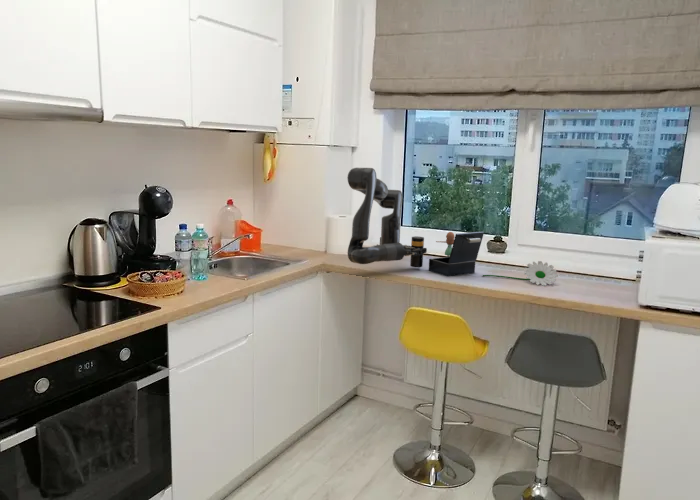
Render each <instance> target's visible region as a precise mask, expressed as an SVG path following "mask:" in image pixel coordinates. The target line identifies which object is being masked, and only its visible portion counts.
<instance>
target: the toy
mask: <svg viewBox="0 0 700 500" xmlns="http://www.w3.org/2000/svg"><path fill="white" fill-rule="evenodd" d="M445 238H446V240H444V241H442V240H435V243H444V244H447V248H446V249H445V251H444V255H445V256H446V257H450V254H451V250H452V247H453V243H454V239H455V233H453V232H452V231H448V232H447V233H446V235H445Z"/></svg>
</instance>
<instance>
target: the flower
mask: <svg viewBox="0 0 700 500" xmlns="http://www.w3.org/2000/svg"><path fill="white" fill-rule="evenodd" d="M526 266H527V267H524V270H526V271H523V274H524V275H525V276H526V277H524V278H523V277H516V276H515V277H514V276H508V275H507V276H506V275H496V274H482V277H493V278H503V279H504V278H505V279H513V280H522V281H529V283H532V284H533V283H535V284H536V286H539V285H541V286H542V287H544V286H546V287H547V284H548V285H552V284H553V283H555V282H556V281H557V279H556V278H558V277H559V273H557V269H554V265H552V264H550V265H548V262H547V261H546V262H544V263H543V261H542V260H538V261H537V262H535V261H532V263H528V264H526ZM552 282H553V283H552Z"/></svg>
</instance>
